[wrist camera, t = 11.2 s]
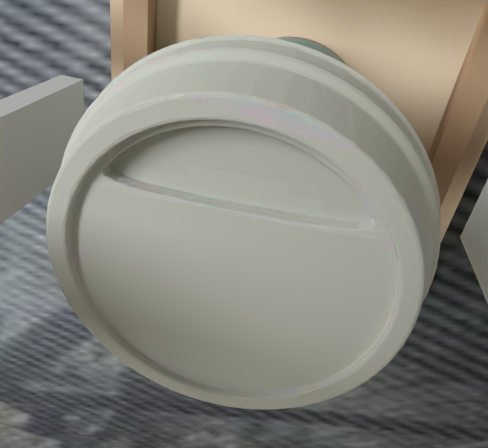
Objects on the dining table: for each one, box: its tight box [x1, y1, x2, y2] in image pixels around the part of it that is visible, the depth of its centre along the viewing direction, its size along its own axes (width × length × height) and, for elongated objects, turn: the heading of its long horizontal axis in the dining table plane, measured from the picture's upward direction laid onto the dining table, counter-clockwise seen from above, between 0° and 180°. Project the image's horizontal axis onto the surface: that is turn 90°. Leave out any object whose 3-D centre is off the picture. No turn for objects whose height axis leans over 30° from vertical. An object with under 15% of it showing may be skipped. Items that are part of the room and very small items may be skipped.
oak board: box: [110, 0, 488, 244], centre depth 19 cm, size 16×16×2 cm
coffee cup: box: [46, 35, 441, 409], centre depth 14 cm, size 8×8×12 cm
